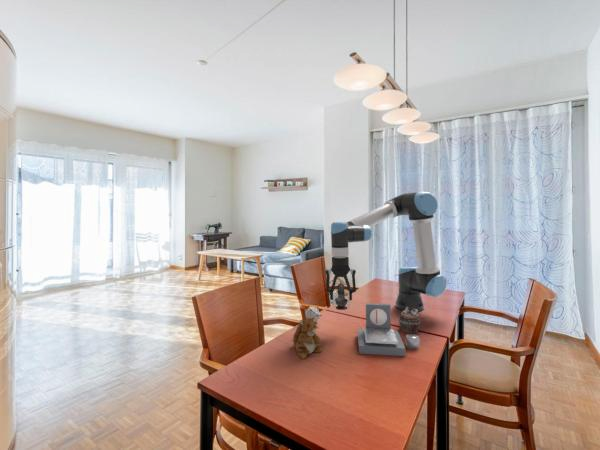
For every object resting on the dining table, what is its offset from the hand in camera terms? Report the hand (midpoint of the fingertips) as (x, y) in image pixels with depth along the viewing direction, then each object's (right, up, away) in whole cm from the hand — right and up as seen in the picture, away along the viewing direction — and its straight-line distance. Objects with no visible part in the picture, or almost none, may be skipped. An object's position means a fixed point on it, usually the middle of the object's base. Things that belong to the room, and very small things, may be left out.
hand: (341, 306), depth 132 cm
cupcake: (+32, -11, +3) cm, 34 cm away
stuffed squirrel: (-17, -13, -16) cm, 26 cm away
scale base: (+14, -12, -13) cm, 22 cm away
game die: (-13, -11, +12) cm, 21 cm away
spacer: (+27, -12, -14) cm, 33 cm away
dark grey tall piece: (0, -1, 0) cm, 1 cm away
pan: (+13, -9, -15) cm, 22 cm away
